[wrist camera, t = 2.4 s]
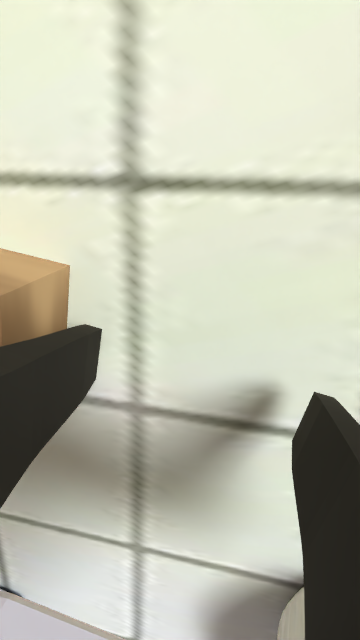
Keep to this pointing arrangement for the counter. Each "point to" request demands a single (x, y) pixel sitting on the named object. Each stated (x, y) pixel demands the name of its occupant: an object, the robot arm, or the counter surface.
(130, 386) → the counter surface
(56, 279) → the block
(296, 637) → the ramekin
